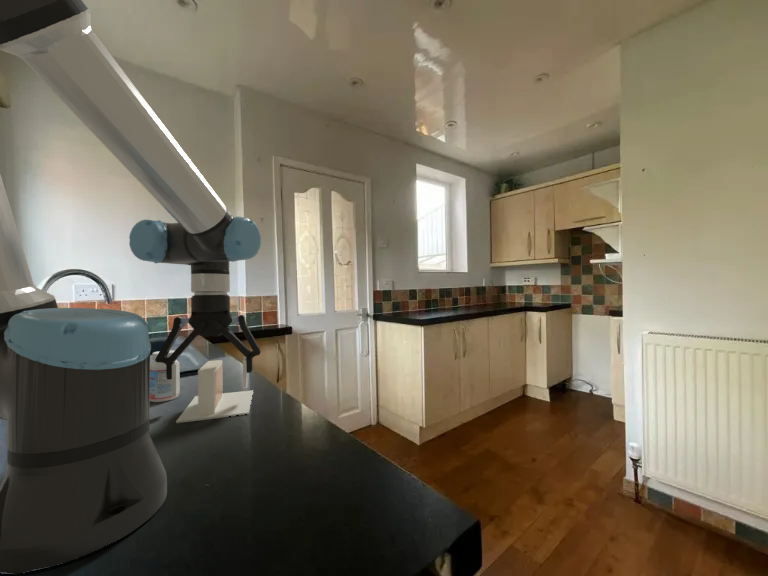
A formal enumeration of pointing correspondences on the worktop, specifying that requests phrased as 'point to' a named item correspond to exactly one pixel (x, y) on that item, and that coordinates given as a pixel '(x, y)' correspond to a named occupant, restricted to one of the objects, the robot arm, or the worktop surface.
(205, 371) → the cream rectangular block
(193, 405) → the mat
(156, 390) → the pill bottle
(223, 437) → the worktop surface
